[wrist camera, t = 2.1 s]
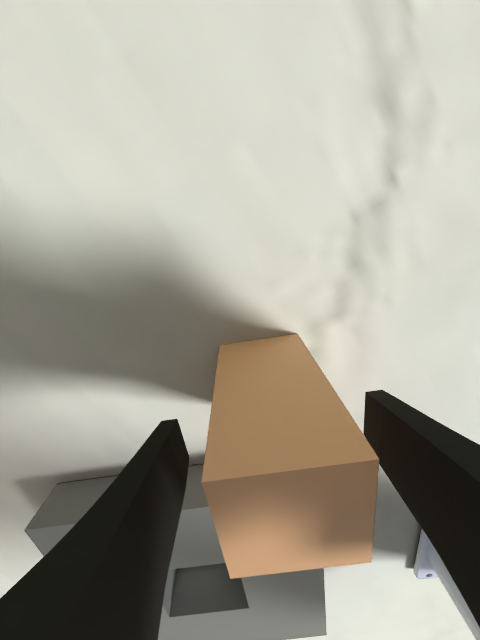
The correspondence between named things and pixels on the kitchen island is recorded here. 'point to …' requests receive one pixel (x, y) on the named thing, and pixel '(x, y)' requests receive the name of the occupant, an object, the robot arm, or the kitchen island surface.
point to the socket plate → (201, 574)
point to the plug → (285, 464)
